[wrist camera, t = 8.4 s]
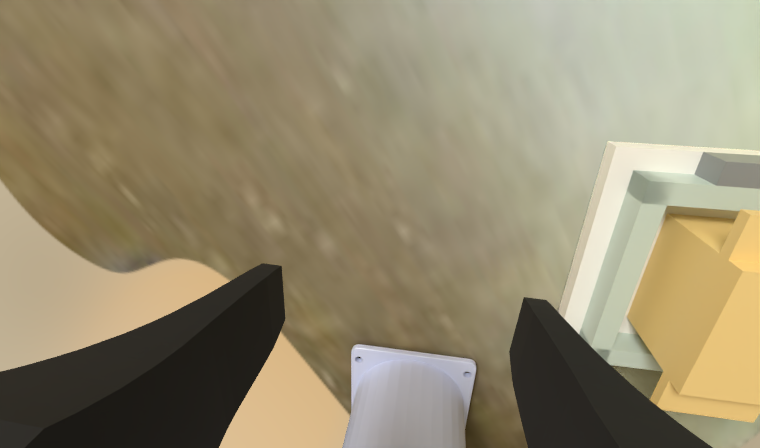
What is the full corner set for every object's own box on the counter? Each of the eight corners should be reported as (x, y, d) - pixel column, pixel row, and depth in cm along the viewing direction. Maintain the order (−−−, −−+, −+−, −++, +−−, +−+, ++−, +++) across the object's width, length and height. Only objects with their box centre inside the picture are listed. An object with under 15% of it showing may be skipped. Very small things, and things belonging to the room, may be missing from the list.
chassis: (733, 363, 22) (767, 400, 19) (549, 340, 23) (561, 373, 21) (854, 156, 16) (918, 174, 14) (607, 141, 18) (631, 155, 15)
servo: (695, 352, 20) (766, 438, 16) (616, 342, 21) (663, 423, 17) (782, 183, 16) (910, 235, 12) (681, 176, 17) (767, 224, 12)
